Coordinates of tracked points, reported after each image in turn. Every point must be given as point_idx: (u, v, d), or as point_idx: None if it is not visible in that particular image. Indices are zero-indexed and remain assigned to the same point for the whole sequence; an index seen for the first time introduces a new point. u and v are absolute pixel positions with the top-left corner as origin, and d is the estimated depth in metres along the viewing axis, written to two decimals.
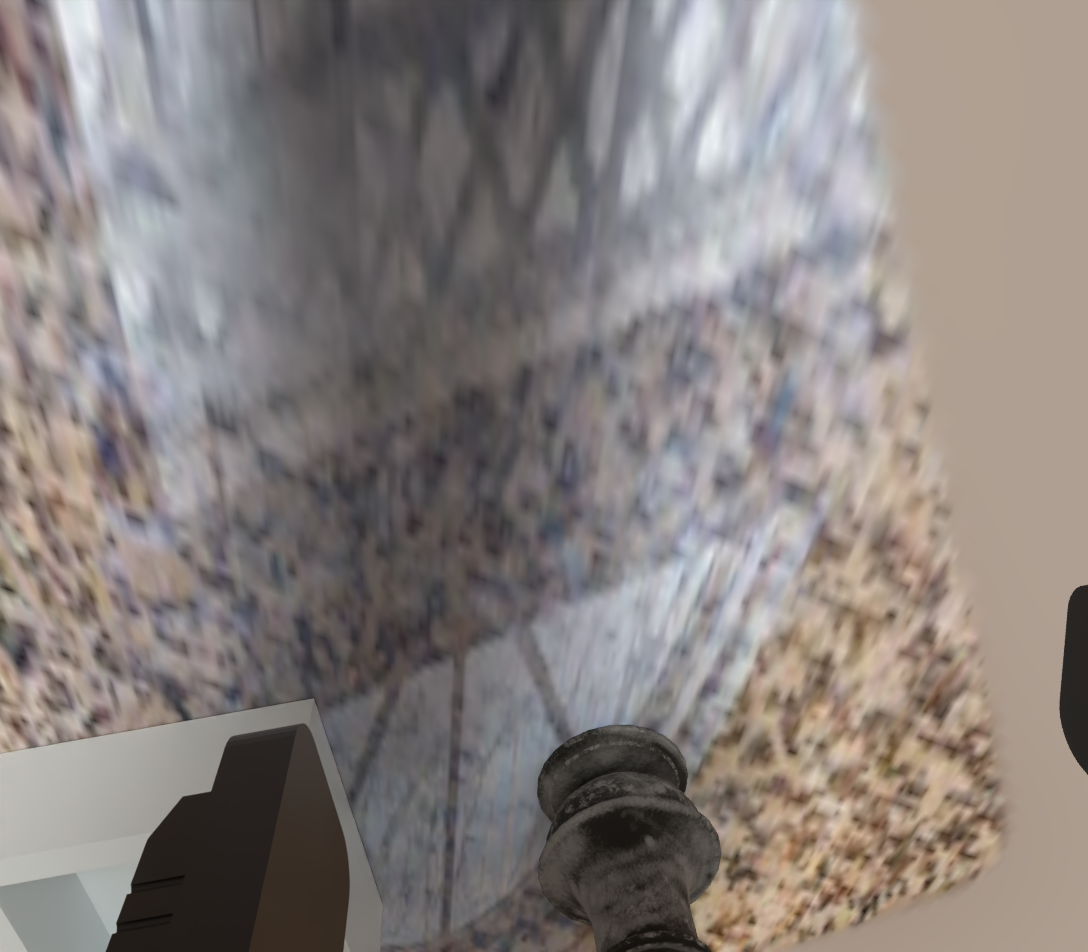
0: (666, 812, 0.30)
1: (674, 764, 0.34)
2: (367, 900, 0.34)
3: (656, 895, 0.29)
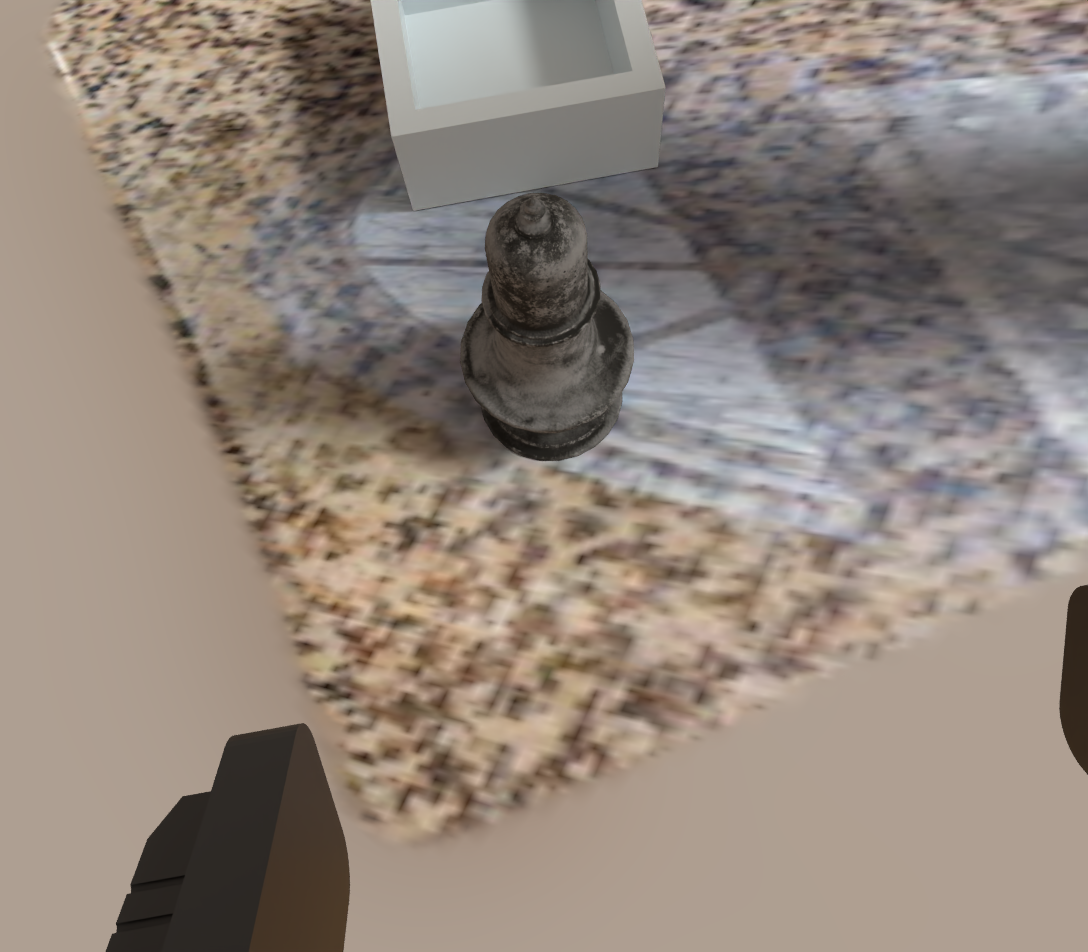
0: (619, 371, 0.33)
1: (580, 441, 0.36)
2: (461, 179, 0.38)
3: (589, 323, 0.31)
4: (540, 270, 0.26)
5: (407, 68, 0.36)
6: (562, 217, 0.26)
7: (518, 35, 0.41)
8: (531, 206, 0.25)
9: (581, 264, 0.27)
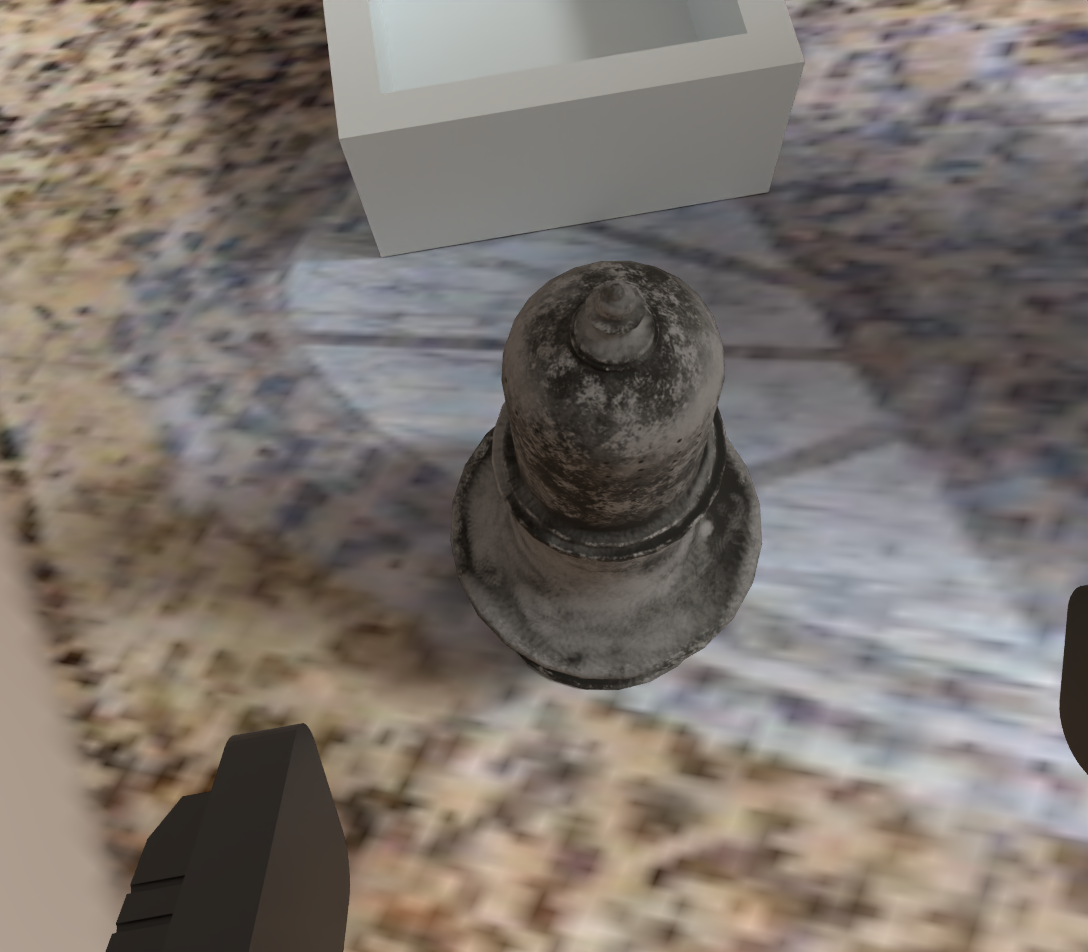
0: (737, 566, 0.18)
1: None
2: (457, 208, 0.24)
3: None
4: (628, 441, 0.12)
5: (369, 26, 0.22)
6: (676, 320, 0.12)
7: None
8: (614, 302, 0.11)
9: (711, 418, 0.12)
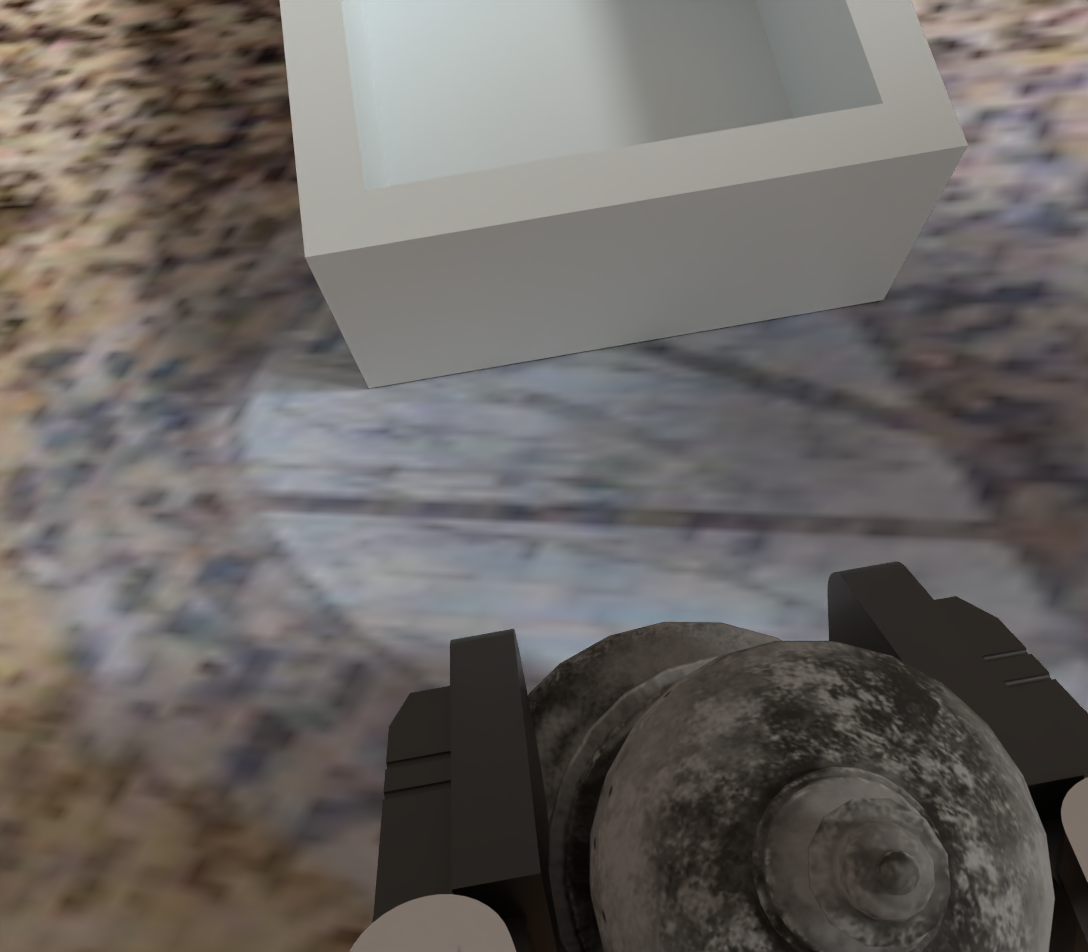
0: None
1: None
2: (471, 332, 0.17)
3: None
4: None
5: (350, 91, 0.16)
6: (976, 830, 0.06)
7: (588, 23, 0.20)
8: (892, 895, 0.05)
9: None
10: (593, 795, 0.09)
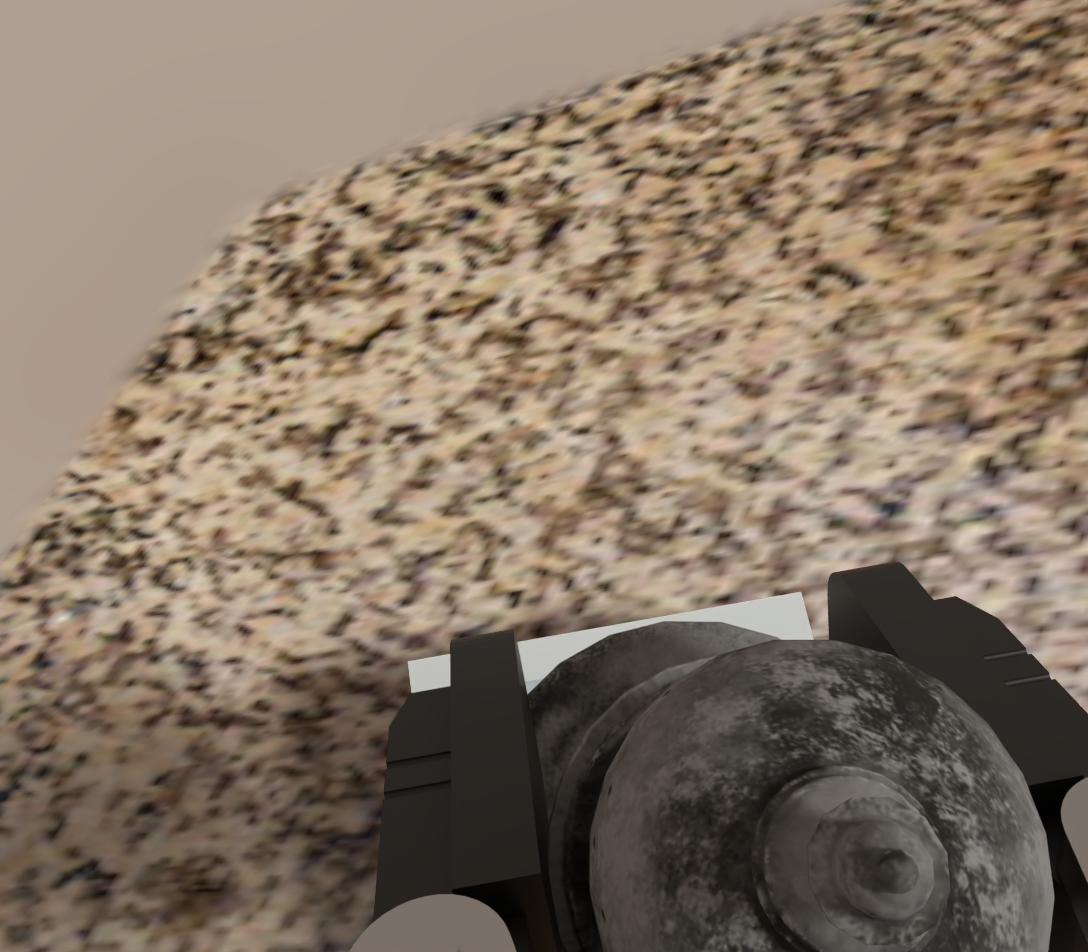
0: None
1: None
2: None
3: None
4: None
5: None
6: (976, 828, 0.06)
7: None
8: (892, 893, 0.05)
9: None
10: (593, 794, 0.09)
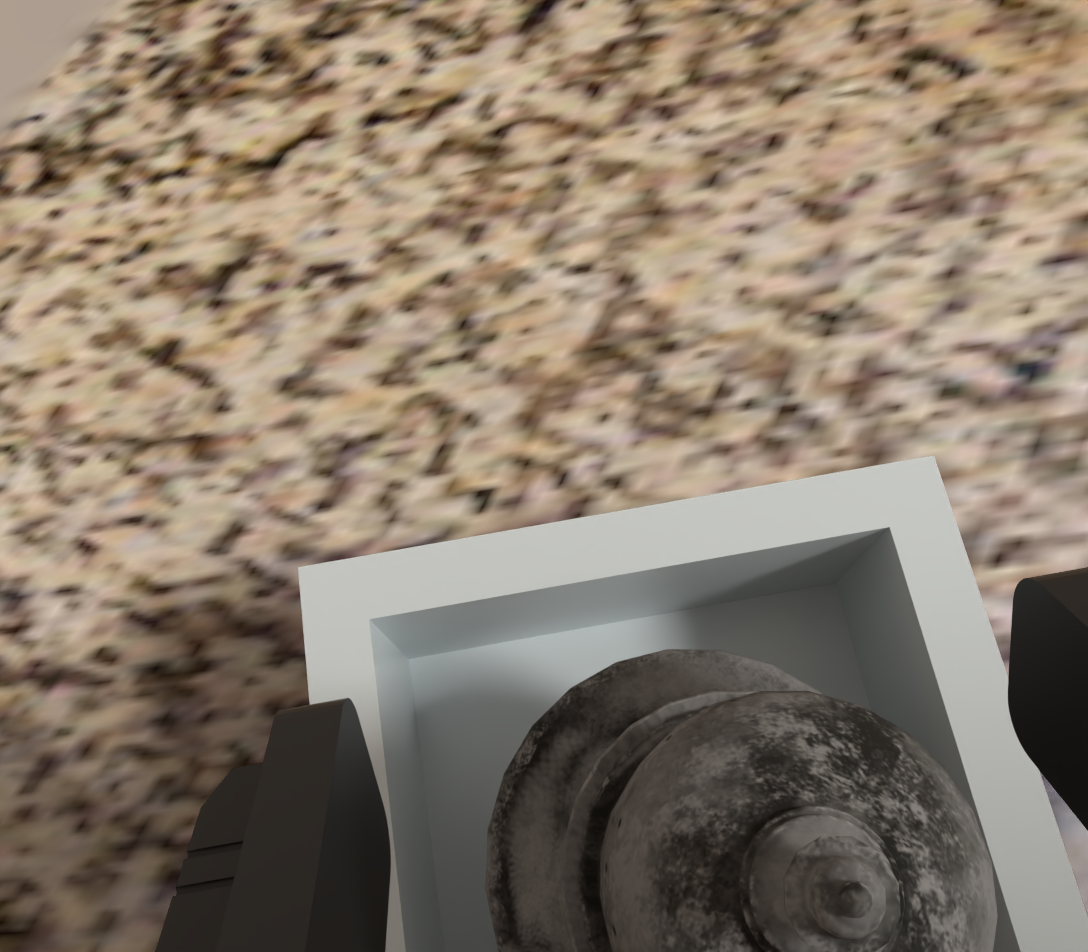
0: None
1: None
2: None
3: None
4: None
5: None
6: (928, 858, 0.07)
7: None
8: (850, 917, 0.06)
9: None
10: (603, 817, 0.10)
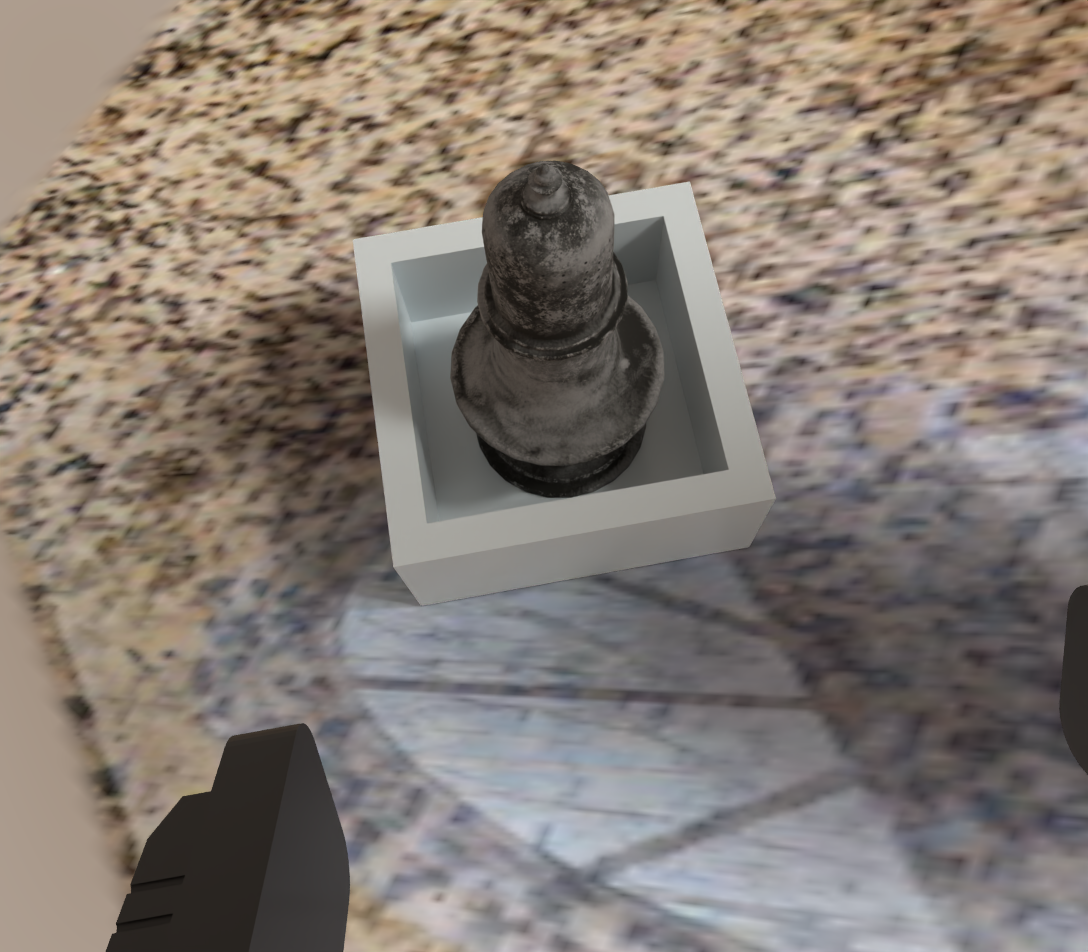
0: (647, 391, 0.26)
1: (595, 474, 0.29)
2: (487, 581, 0.28)
3: None
4: (554, 260, 0.20)
5: (416, 456, 0.26)
6: (583, 191, 0.20)
7: None
8: (543, 175, 0.19)
9: (607, 254, 0.21)
10: None
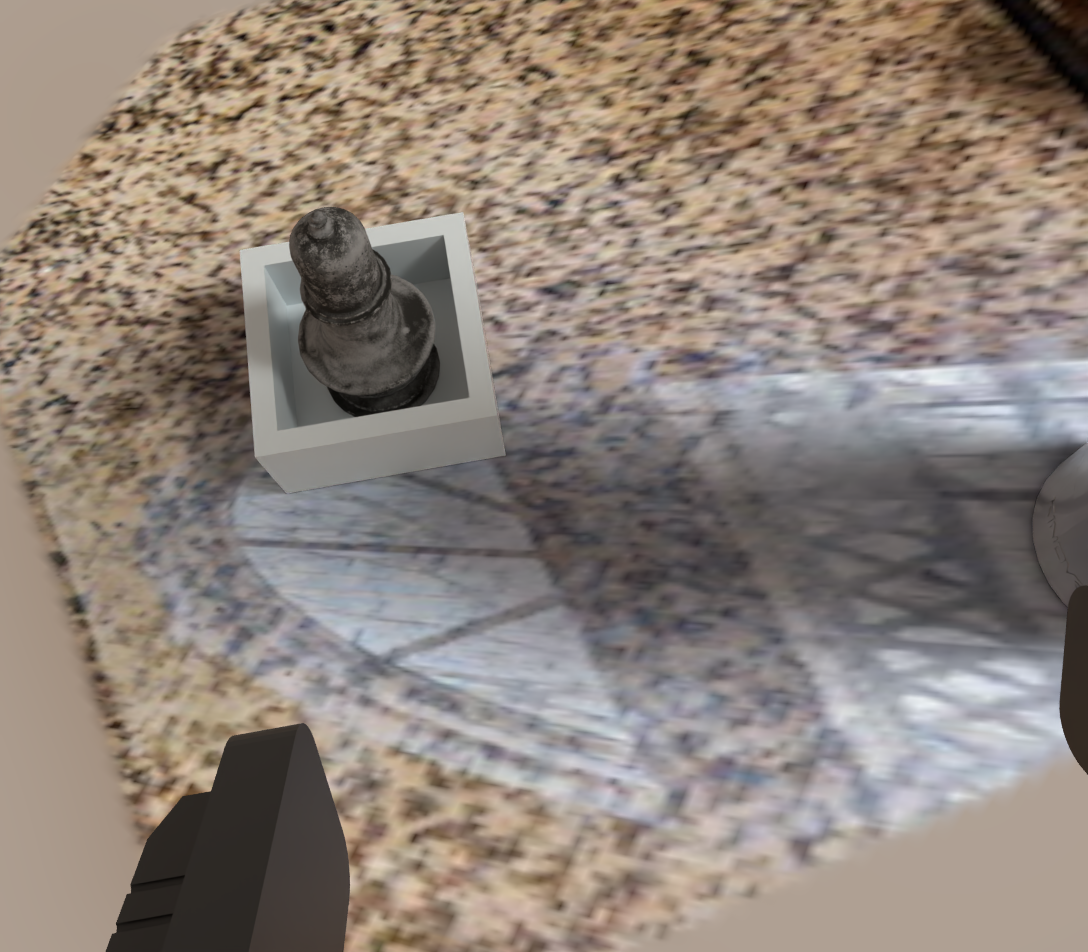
0: (421, 348, 0.41)
1: (401, 406, 0.44)
2: (325, 474, 0.43)
3: (389, 308, 0.40)
4: (326, 265, 0.35)
5: (273, 389, 0.41)
6: (344, 225, 0.35)
7: None
8: (315, 217, 0.34)
9: (362, 261, 0.36)
10: None
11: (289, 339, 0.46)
